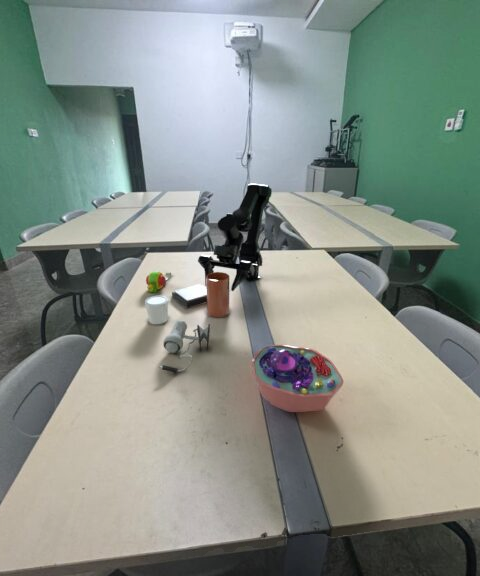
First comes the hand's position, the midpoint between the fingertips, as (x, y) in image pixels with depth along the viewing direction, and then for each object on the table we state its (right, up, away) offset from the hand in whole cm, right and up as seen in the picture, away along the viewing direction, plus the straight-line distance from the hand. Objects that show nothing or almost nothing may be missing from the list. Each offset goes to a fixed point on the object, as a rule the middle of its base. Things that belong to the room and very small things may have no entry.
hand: (218, 288), depth 103 cm
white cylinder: (-19, -10, -3) cm, 22 cm away
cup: (-1, -8, +3) cm, 8 cm away
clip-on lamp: (-7, -18, -19) cm, 27 cm away
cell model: (+20, -25, -32) cm, 45 cm away
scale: (-10, -4, +12) cm, 16 cm away
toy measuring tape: (-26, +1, +22) cm, 34 cm away
